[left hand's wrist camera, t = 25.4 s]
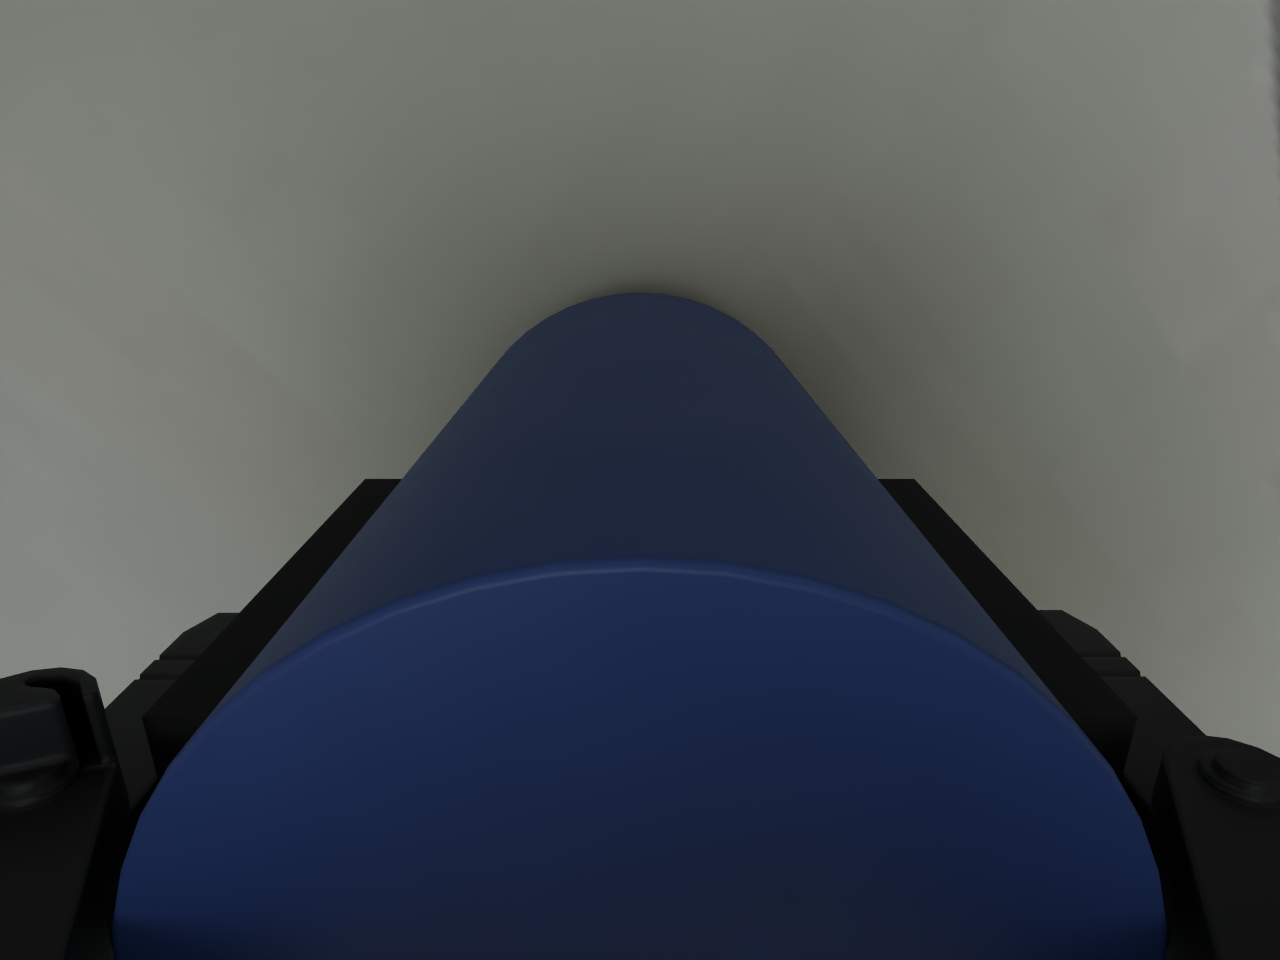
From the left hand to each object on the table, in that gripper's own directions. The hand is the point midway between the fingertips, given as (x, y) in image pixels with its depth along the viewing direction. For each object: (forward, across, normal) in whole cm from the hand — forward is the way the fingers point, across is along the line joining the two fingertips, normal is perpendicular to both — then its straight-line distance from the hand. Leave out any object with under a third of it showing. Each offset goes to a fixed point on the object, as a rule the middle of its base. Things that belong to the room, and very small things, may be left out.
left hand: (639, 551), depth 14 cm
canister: (+4, 0, 0) cm, 4 cm away
